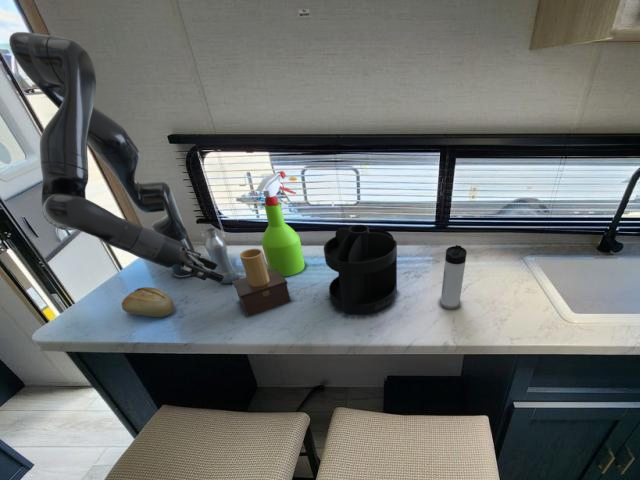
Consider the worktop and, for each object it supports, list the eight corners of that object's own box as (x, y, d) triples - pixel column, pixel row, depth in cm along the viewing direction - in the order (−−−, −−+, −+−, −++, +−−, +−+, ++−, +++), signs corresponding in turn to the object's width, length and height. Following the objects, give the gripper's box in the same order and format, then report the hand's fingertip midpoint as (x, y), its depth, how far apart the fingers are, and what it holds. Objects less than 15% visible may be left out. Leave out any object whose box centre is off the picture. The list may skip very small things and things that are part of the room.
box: (239, 301, 105) (231, 281, 101) (281, 287, 112) (276, 268, 108) (247, 317, 99) (240, 296, 94) (292, 301, 106) (287, 281, 101)
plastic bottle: (231, 286, 113) (212, 234, 101) (214, 284, 114) (194, 232, 102) (242, 277, 118) (225, 227, 106) (226, 275, 119) (208, 225, 107)
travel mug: (460, 299, 107) (468, 246, 96) (457, 310, 102) (465, 256, 91) (442, 296, 109) (448, 243, 97) (438, 306, 104) (444, 252, 92)
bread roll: (141, 302, 105) (130, 281, 100) (184, 304, 104) (174, 284, 99) (118, 320, 97) (104, 299, 92) (164, 323, 96) (153, 301, 91)
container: (317, 309, 102) (304, 238, 88) (350, 275, 120) (343, 211, 105) (379, 324, 96) (376, 251, 82) (404, 286, 114) (405, 220, 99)
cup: (246, 280, 101) (237, 252, 96) (266, 274, 104) (258, 246, 99) (252, 288, 97) (242, 260, 91) (272, 282, 100) (265, 254, 94)
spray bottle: (319, 260, 130) (305, 171, 109) (287, 280, 117) (264, 183, 96) (294, 252, 135) (276, 166, 115) (261, 271, 122) (234, 177, 102)
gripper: (166, 245, 75) (231, 272, 87) (160, 226, 84) (220, 253, 97) (149, 271, 76) (217, 294, 88) (145, 249, 85) (207, 273, 97)
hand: (218, 272), depth 92 cm, fingers open, 8 cm apart
